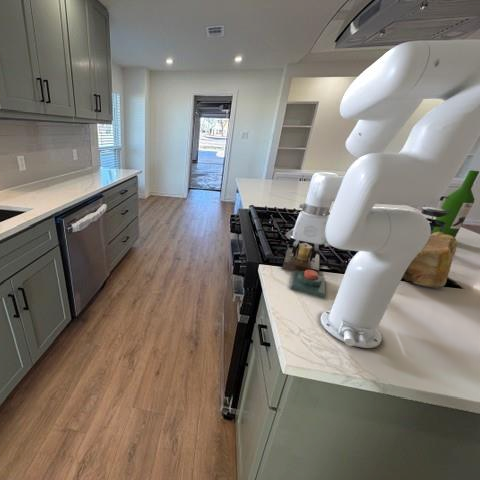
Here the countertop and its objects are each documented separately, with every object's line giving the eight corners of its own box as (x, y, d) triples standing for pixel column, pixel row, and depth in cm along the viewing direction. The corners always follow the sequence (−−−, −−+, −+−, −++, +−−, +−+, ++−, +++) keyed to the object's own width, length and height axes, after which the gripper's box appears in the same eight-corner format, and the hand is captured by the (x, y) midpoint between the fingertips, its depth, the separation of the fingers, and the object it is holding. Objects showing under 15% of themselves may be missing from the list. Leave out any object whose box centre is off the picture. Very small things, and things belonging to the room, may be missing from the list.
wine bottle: (444, 243, 118) (481, 172, 105) (422, 236, 126) (454, 169, 113) (457, 242, 120) (495, 172, 107) (435, 234, 128) (468, 169, 115)
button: (316, 281, 79) (317, 276, 78) (303, 277, 80) (304, 273, 80) (316, 276, 82) (318, 271, 81) (304, 273, 83) (305, 268, 83)
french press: (439, 248, 112) (465, 197, 103) (429, 252, 108) (456, 199, 99) (406, 238, 122) (428, 191, 113) (396, 241, 118) (418, 193, 109)
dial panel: (316, 277, 87) (319, 270, 85) (281, 269, 92) (283, 261, 90) (317, 261, 98) (319, 254, 97) (286, 254, 103) (288, 247, 102)
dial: (308, 262, 91) (312, 248, 89) (295, 258, 93) (298, 245, 91) (309, 257, 94) (313, 244, 92) (296, 254, 96) (299, 241, 94)
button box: (323, 298, 76) (326, 288, 74) (290, 289, 80) (293, 279, 79) (323, 281, 85) (326, 272, 83) (293, 274, 89) (296, 265, 87)
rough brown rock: (388, 257, 104) (399, 223, 99) (447, 271, 92) (463, 232, 87) (374, 278, 91) (385, 239, 85) (441, 296, 79) (459, 253, 73)
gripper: (287, 208, 87) (276, 255, 94) (346, 217, 79) (329, 267, 87) (289, 203, 93) (279, 248, 100) (345, 211, 85) (328, 259, 92)
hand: (302, 256), depth 93 cm, fingers open, 4 cm apart
